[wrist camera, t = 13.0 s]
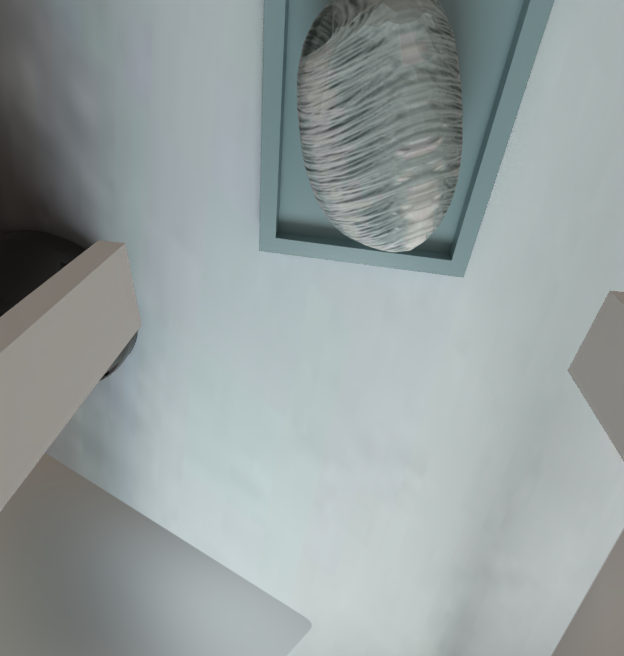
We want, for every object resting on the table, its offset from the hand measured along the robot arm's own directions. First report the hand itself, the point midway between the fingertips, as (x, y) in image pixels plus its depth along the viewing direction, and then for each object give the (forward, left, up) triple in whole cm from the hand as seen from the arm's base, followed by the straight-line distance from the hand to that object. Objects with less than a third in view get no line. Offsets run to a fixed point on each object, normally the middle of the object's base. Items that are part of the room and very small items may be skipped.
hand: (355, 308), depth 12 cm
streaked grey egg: (+1, +2, -20) cm, 21 cm away
